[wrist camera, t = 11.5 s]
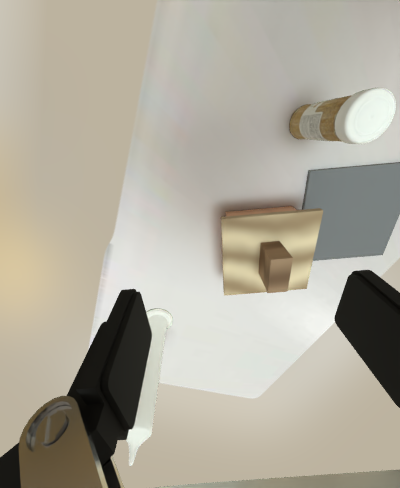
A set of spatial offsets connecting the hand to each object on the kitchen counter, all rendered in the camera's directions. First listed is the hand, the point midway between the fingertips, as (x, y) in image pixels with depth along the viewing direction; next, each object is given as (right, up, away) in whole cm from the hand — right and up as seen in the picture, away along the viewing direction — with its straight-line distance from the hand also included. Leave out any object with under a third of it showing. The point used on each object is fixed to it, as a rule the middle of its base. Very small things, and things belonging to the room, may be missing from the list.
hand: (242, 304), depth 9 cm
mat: (+26, +8, +29) cm, 39 cm away
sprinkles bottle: (+14, +21, +21) cm, 33 cm away
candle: (-12, -15, +41) cm, 45 cm away
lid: (+9, +1, +25) cm, 27 cm away
